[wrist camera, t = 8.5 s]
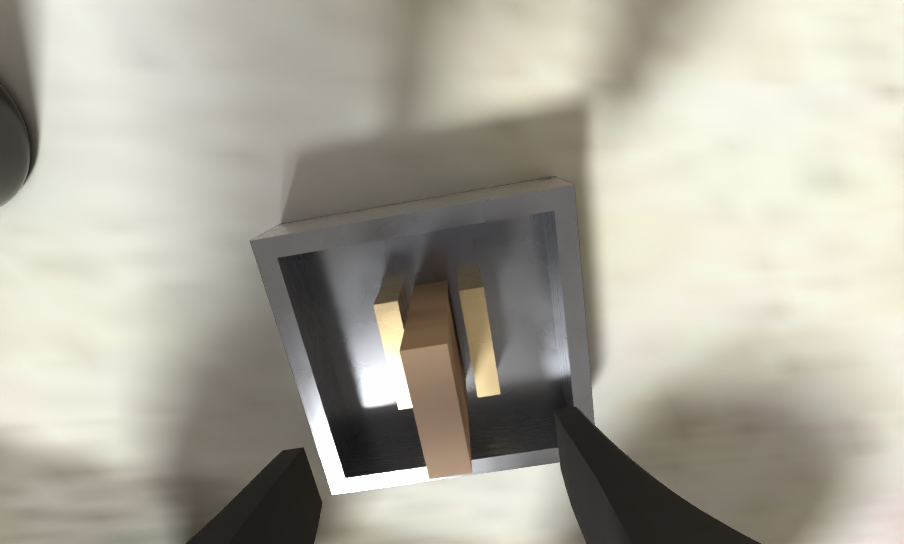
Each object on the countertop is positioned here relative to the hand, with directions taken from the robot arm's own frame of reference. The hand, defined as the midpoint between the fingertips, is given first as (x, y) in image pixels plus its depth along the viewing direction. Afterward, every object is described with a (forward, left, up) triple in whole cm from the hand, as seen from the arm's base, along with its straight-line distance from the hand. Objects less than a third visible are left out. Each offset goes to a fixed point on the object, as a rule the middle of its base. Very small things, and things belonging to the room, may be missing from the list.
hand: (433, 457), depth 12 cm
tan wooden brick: (0, 0, -8) cm, 8 cm away
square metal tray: (0, 0, -9) cm, 9 cm away
